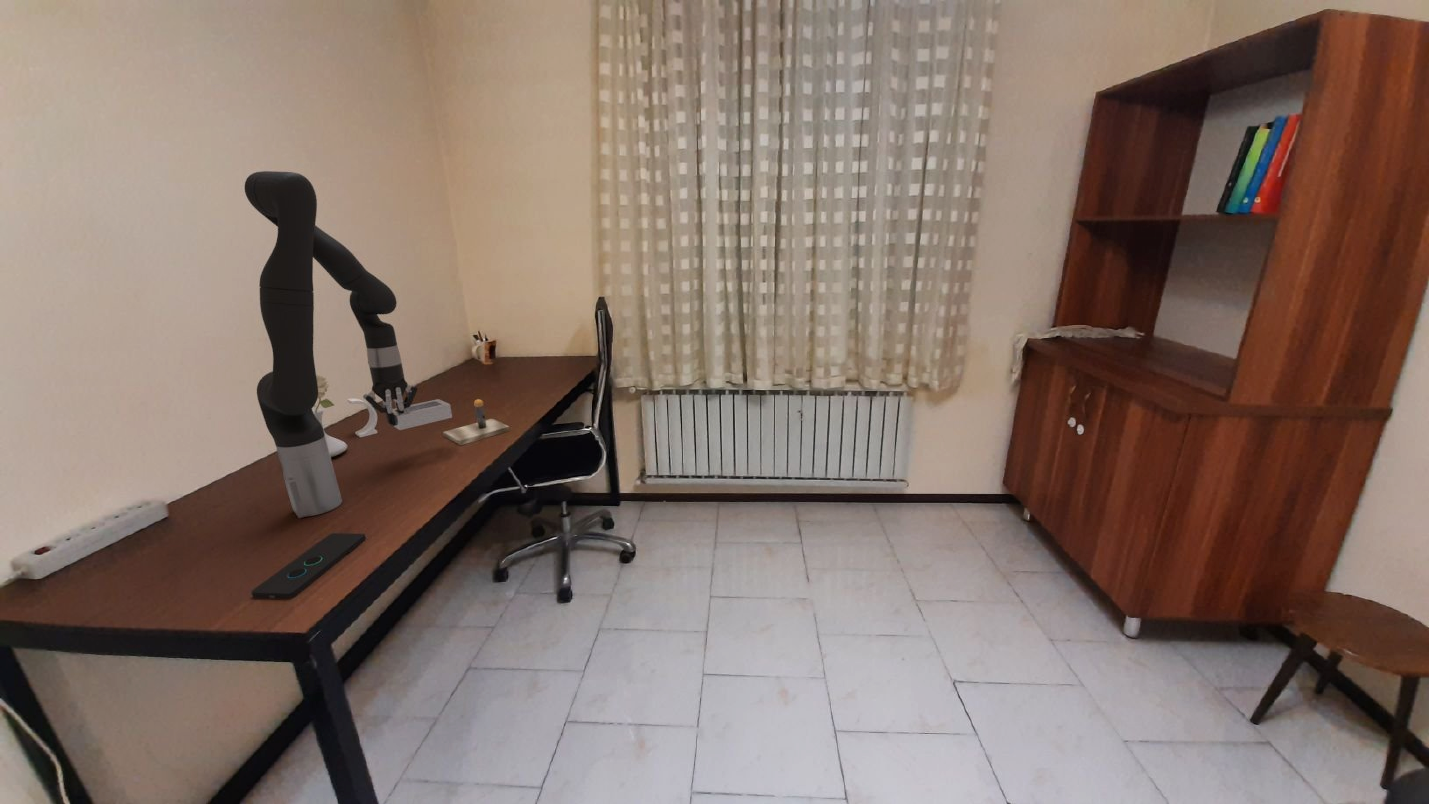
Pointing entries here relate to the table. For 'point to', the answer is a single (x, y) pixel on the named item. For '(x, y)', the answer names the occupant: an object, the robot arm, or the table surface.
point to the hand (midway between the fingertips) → (397, 424)
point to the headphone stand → (372, 419)
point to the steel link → (422, 414)
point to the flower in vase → (332, 443)
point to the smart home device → (308, 566)
